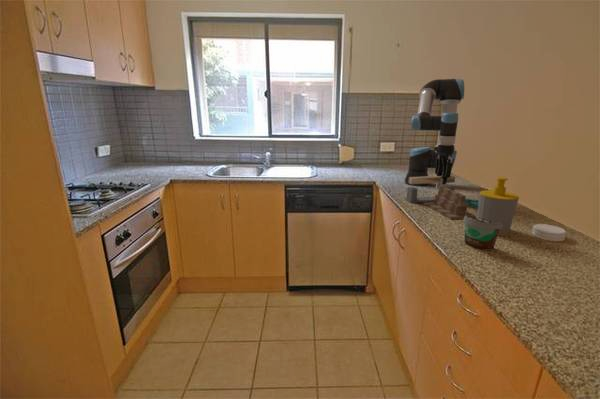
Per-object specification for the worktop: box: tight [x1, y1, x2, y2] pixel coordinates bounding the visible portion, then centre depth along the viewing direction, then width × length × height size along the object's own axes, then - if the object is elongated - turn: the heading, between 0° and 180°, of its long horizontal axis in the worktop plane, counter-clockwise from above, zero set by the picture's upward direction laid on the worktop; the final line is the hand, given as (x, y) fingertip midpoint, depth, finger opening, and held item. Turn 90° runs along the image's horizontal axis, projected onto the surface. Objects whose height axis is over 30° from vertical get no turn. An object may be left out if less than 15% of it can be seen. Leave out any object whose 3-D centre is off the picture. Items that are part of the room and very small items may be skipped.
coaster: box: [531, 223, 567, 242], centre depth 118 cm, size 10×10×4 cm
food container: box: [462, 214, 503, 251], centre depth 108 cm, size 12×6×10 cm, turn 45°
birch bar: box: [408, 175, 456, 184], centre depth 162 cm, size 3×24×3 cm, turn 97°
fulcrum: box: [424, 186, 477, 220], centre depth 146 cm, size 22×12×10 cm, turn 7°
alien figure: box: [465, 197, 479, 209], centre depth 157 cm, size 20×2×20 cm
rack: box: [404, 185, 455, 204], centre depth 163 cm, size 6×24×7 cm, turn 97°
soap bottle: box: [476, 176, 520, 236], centre depth 122 cm, size 13×13×21 cm
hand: (440, 188), depth 164 cm, fingers closed on birch bar, 3 cm apart
